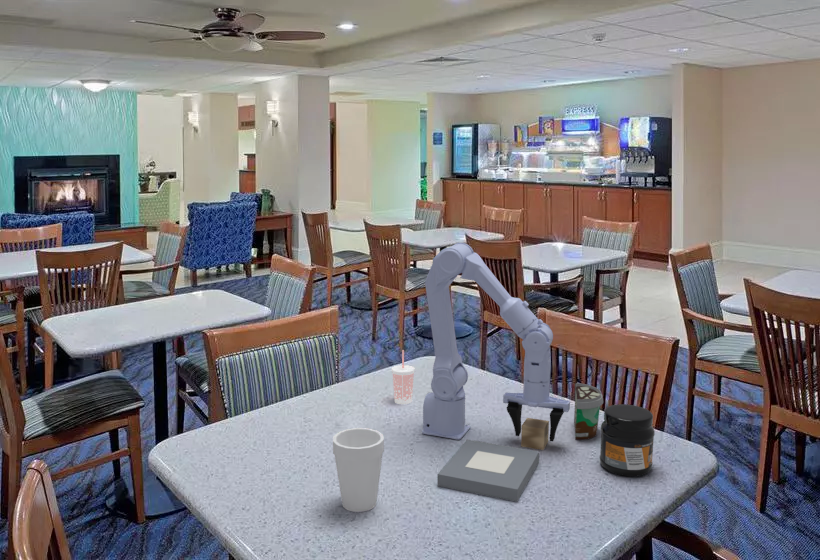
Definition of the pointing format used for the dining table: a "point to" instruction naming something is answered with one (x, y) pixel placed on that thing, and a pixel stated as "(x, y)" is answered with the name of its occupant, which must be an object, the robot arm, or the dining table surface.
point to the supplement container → (627, 440)
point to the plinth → (489, 470)
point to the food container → (586, 411)
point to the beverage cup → (403, 382)
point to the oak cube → (534, 433)
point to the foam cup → (358, 466)
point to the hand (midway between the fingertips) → (535, 437)
